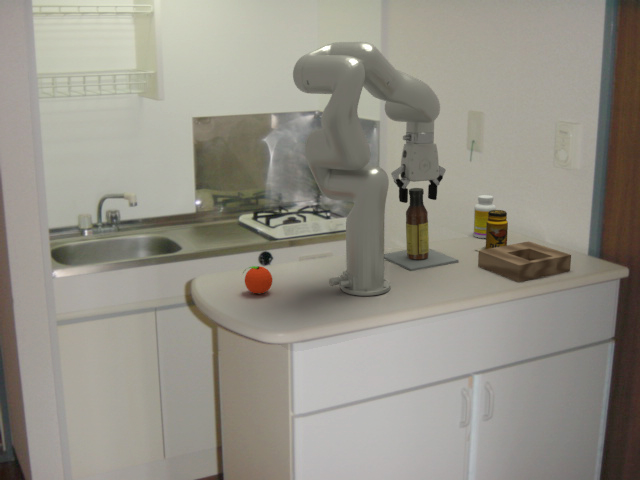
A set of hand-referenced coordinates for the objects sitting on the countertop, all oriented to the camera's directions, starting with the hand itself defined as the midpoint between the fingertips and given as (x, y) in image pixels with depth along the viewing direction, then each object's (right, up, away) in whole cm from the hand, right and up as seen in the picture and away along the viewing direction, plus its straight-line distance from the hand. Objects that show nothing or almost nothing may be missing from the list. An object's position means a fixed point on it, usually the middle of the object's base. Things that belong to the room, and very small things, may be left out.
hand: (417, 200), depth 208 cm
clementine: (-43, -24, -20) cm, 53 cm away
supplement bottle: (+24, -10, +28) cm, 39 cm away
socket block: (+28, -19, -5) cm, 34 cm away
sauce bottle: (0, -16, +5) cm, 17 cm away
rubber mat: (+1, -16, +5) cm, 17 cm away
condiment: (+24, -14, +12) cm, 31 cm away
